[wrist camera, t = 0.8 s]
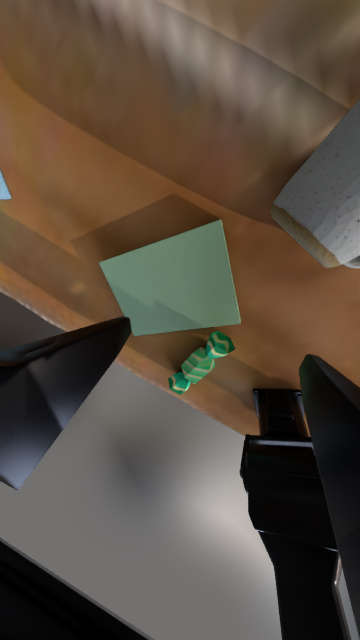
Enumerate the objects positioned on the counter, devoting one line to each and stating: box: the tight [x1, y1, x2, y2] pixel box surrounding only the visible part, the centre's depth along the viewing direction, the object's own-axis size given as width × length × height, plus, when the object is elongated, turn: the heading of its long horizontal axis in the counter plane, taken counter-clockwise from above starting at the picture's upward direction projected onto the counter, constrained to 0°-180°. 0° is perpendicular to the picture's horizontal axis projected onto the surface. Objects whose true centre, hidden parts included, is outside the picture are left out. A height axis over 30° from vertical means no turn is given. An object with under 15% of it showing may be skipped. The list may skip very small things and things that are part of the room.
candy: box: [168, 331, 235, 395], centre depth 27 cm, size 12×3×4 cm
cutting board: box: [99, 219, 241, 336], centre depth 23 cm, size 12×16×1 cm
